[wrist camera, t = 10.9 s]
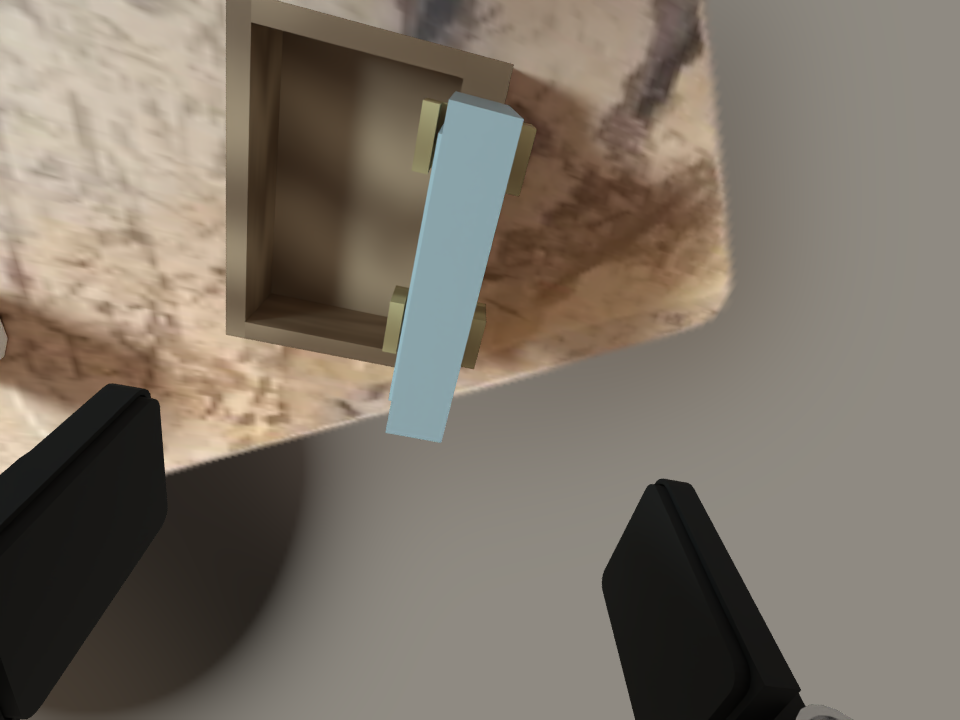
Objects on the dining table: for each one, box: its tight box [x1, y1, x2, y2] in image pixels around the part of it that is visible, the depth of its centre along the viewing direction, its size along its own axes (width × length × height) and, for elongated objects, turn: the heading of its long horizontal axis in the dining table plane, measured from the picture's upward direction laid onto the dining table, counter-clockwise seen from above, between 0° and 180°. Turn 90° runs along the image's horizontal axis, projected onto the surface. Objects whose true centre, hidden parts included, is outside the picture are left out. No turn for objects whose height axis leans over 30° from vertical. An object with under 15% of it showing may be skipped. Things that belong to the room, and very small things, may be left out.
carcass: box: [226, 0, 537, 369], centre depth 27 cm, size 16×13×7 cm
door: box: [386, 91, 524, 442], centre depth 23 cm, size 13×3×8 cm, turn 167°
